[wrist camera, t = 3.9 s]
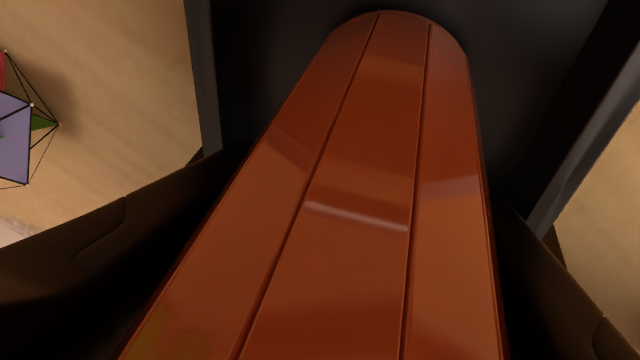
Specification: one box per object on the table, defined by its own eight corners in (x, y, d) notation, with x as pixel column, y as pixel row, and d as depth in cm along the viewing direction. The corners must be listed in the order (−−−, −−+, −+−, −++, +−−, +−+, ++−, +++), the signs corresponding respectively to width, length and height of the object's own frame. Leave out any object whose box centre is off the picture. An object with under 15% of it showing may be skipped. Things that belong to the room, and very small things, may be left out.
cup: (510, 90, 12) (666, 629, 4) (390, 182, 15) (326, 573, 7) (379, -33, 11) (153, 349, 2) (280, 97, 14) (40, 445, 6)
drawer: (178, -513, 8) (26, -726, 5) (963, -515, 6) (1413, -838, 3) (231, 169, 19) (194, 223, 16) (509, 233, 18) (522, 305, 15)
